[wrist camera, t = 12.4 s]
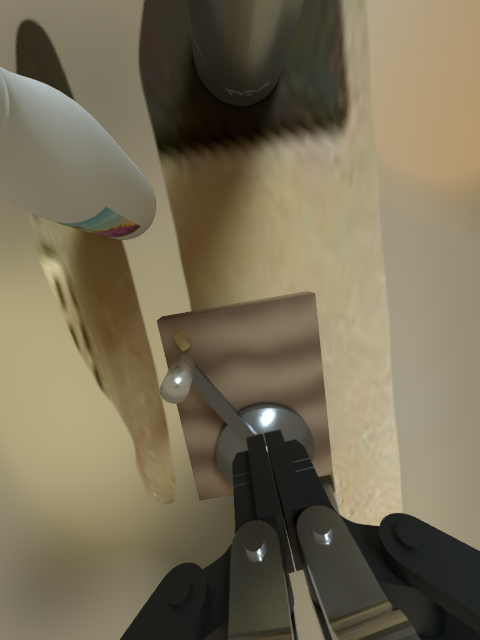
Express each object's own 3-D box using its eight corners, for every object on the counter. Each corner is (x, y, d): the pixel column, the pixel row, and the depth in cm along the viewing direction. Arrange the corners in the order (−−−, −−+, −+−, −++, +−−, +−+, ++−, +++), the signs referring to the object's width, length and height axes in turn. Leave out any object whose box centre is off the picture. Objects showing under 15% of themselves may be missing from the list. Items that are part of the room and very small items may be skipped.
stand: (162, 316, 30) (154, 322, 27) (307, 291, 31) (318, 294, 28) (201, 484, 36) (199, 507, 32) (325, 459, 36) (336, 479, 33)
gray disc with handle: (328, 449, 33) (360, 504, 25) (254, 501, 33) (264, 569, 26) (221, 317, 28) (221, 336, 21) (139, 381, 29) (110, 422, 21)
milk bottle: (100, 150, 26) (-245, -186, 7) (169, 188, 28) (42, -4, 8) (73, 219, 27) (-288, 99, 8) (140, 253, 29) (-31, 221, 9)
